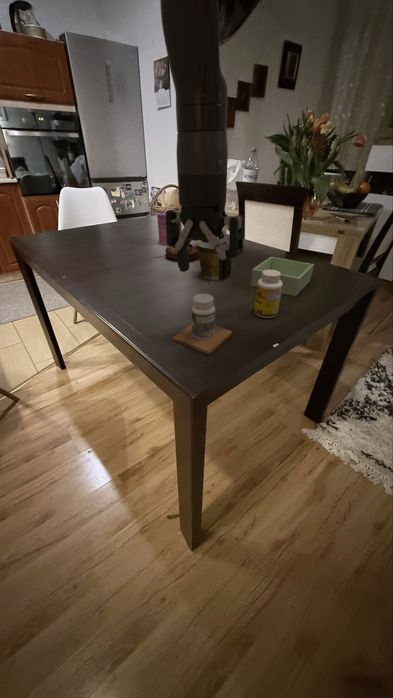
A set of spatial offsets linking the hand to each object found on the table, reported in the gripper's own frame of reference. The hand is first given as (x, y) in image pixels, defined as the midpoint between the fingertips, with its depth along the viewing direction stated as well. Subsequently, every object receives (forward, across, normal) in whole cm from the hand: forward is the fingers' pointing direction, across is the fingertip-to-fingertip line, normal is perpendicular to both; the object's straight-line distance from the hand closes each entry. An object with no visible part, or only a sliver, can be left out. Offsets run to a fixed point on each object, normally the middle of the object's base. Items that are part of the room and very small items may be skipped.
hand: (203, 274), depth 52 cm
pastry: (+14, +36, -41) cm, 56 cm away
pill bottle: (+13, 0, 0) cm, 13 cm away
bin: (+14, -3, -37) cm, 40 cm away
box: (+14, +53, -55) cm, 78 cm away
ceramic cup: (+14, +18, -32) cm, 39 cm away
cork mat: (+14, 0, 0) cm, 14 cm away
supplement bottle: (+14, -7, -17) cm, 23 cm away
